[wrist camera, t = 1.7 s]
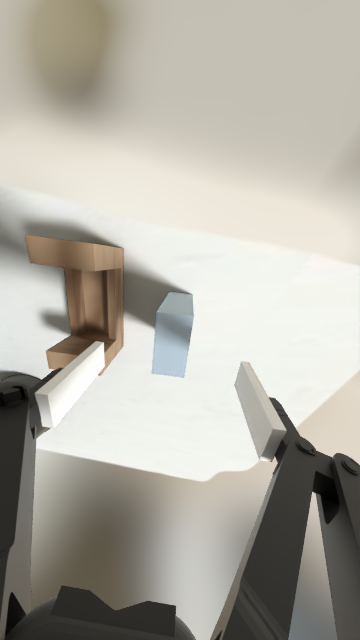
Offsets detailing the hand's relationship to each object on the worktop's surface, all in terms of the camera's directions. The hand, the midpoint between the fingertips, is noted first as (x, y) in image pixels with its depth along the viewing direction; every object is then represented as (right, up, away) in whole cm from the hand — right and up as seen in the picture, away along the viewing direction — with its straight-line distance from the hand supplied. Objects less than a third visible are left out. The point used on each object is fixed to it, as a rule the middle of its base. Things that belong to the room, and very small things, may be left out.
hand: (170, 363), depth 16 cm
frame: (-13, +8, +14) cm, 21 cm away
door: (+1, +5, +15) cm, 15 cm away
